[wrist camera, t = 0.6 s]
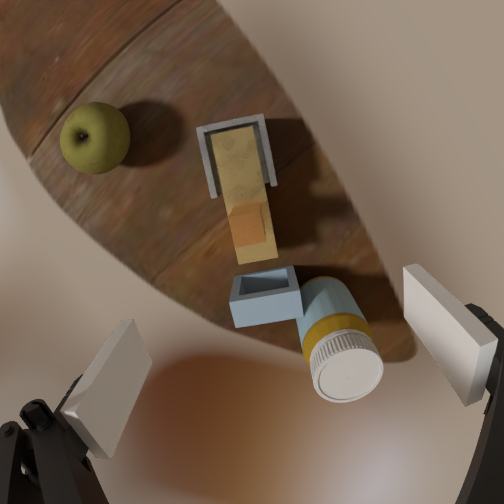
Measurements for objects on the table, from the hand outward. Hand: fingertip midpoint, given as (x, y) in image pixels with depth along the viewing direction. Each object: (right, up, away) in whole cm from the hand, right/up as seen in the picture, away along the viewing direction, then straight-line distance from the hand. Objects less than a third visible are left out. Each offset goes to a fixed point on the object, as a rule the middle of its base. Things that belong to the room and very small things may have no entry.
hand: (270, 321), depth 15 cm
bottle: (+8, -3, +25) cm, 26 cm away
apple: (-17, +17, +19) cm, 31 cm away
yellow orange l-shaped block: (-1, +10, +20) cm, 22 cm away
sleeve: (-2, +14, +19) cm, 24 cm away
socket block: (+1, 0, +24) cm, 24 cm away
